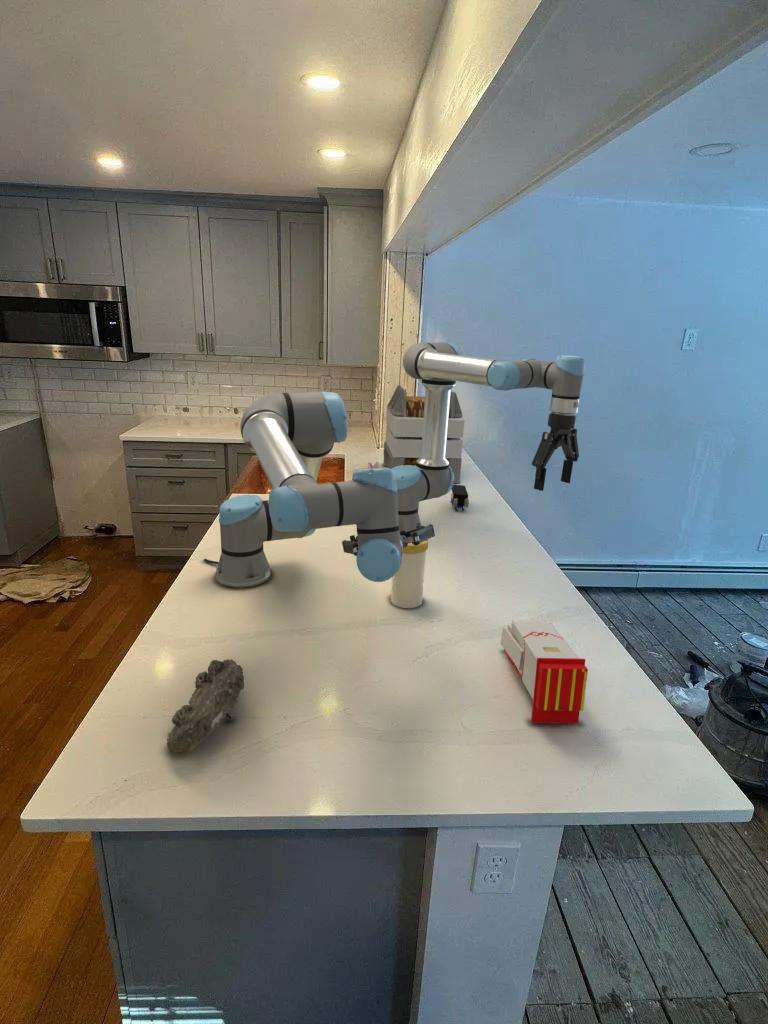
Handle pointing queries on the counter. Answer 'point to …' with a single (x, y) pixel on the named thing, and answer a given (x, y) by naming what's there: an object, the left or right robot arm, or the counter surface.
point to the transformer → (419, 431)
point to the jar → (409, 581)
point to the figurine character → (459, 497)
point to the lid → (416, 548)
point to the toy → (547, 670)
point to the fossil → (206, 705)
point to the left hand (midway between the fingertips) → (390, 533)
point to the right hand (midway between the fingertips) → (552, 485)
